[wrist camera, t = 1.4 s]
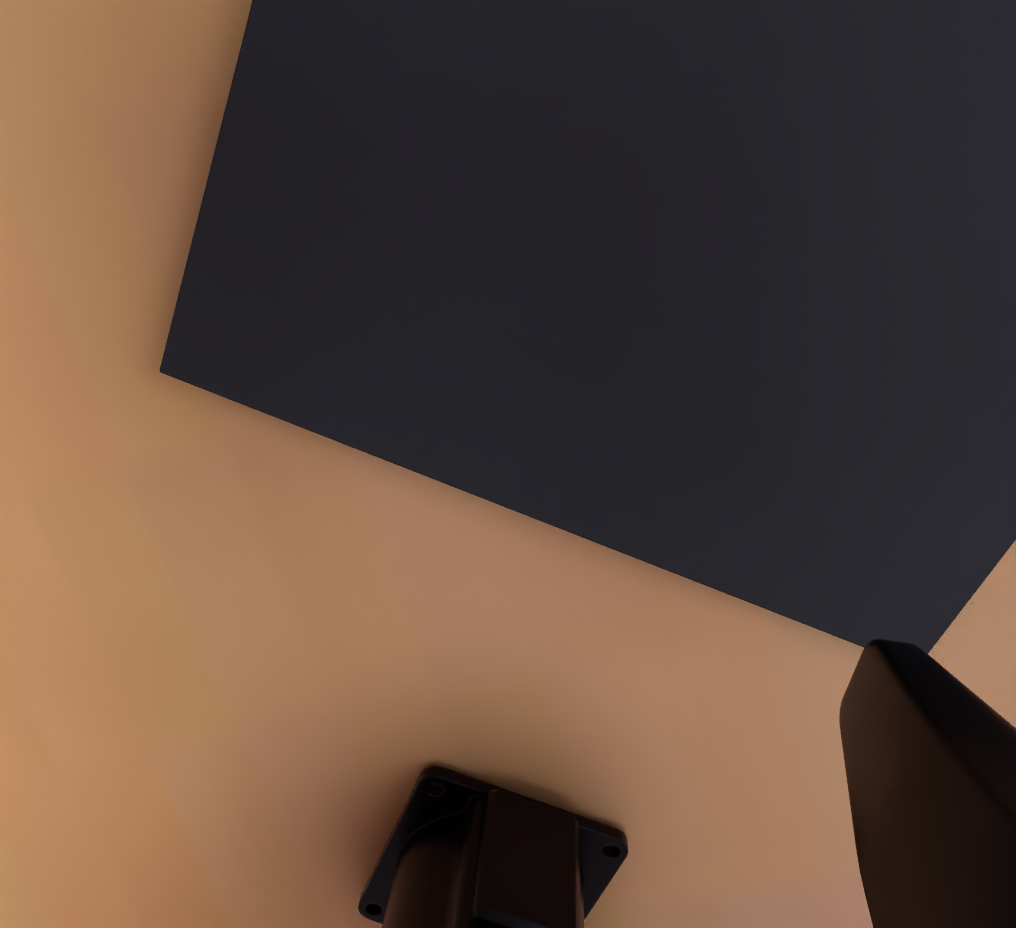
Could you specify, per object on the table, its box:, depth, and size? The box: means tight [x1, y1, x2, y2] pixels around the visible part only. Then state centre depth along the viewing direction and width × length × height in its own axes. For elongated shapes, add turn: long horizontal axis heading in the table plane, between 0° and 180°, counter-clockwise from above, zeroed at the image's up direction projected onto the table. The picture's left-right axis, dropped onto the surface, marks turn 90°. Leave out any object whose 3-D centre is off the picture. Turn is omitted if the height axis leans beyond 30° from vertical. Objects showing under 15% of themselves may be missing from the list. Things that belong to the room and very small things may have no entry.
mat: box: [160, 0, 1016, 654], centre depth 19 cm, size 18×20×1 cm
